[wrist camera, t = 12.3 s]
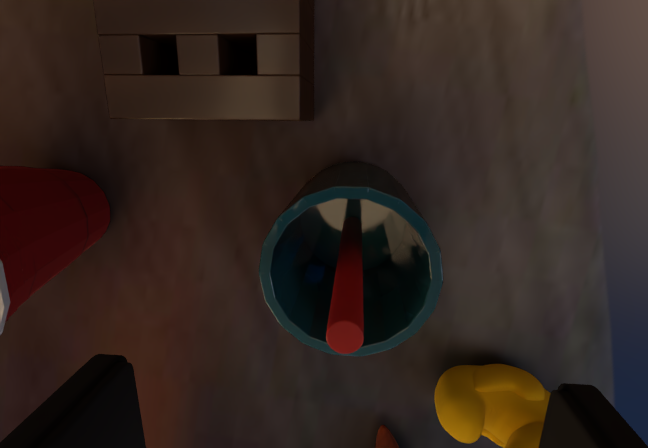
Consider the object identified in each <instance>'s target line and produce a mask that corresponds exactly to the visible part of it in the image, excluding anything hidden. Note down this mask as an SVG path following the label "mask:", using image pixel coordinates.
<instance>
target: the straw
mask: <svg viewBox="0 0 648 448" xmlns="http://www.w3.org/2000/svg"><path fill="white" fill-rule="evenodd" d="M326 340H327V343H328V345H329V346H330V347H331V348H332V349H333V350H334V351H336V352H338V353H342V354H349V353H353V352H355V351H357V350H358V349H359V348H360V347H361V346H362V344H363V341H364V314H363V264H362V224H361V221H360V220H359V219H358V218H356V217H349V218H347V219H346V220H345V221H344V223H343V228H342V235H341V241H340V247H339V254H338V260H337V267H336V273H335V279H334V286H333V292H332V298H331V305H330V311H329V318H328V324H327V330H326Z"/></svg>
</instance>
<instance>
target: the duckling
mask: <svg viewBox="0 0 648 448" xmlns="http://www.w3.org/2000/svg"><path fill="white" fill-rule="evenodd" d="M550 394H551V393H549V392H548V391H547V390H545V389H544V388H543V386H542V384H541V383H540V382H539V381H538V380H537V379H536V378H535V377H534V376H533V375H531V374H530V373H528V372H526V371H525V370H522V369H520V368H516V367H512V366H509V365H505V364H489V365H484V366H478V365H460V366H455V367H452V368H450V369H448V370H447V371H445V372H444V373H443V374H442V376H441V377H440V379H439V381H438V383H437V386H436V390H435V406H436V411H437V415H438V418H439V421H440V423H441V425H442V426H443V428H444V429H445V430H446V431H447V432H448V433H449V434H450V435H451V436H452V437H454V438H455V439H456V440H458V441H460V442H463V443H473V442H475V441H477V440H478V438H479V437H480V436H481V435H483V436H486V437H488V438H489V439H491V440H492V441H493V442H495V443H496V444H497V445H499V446H501V447H504V448H539V443H540V439H541V434H542V429H543V425H544V420H545V416H546V411H547V406H548V402H549V397H550Z"/></svg>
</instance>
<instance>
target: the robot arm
mask: <svg viewBox="0 0 648 448" xmlns="http://www.w3.org/2000/svg"><path fill="white" fill-rule="evenodd" d="M0 448H146V446H145V439H144V433H143V427H142V420H141V414H140V408H139V402H138V395H137V389H136V383H135V377H134V370H133V366H132V364H131V363H127V359H126V358H125V357H124V356H121V355H105V354H98V355H95V356H94V357H92V358H91V359H90V360H89V361H88V362H87V363H86V364H85V365H84V366H82V367H81V368H80V369H79V370H78V371H77V372H76V373H75V374H74V375H73V376H72V377H71V378H69V379H68V380H67V381H66V382H65V383H64V384H63V385H62V386H61V387H60V388H59V389H58V390H57V391H55V392H54V393H53V394H52V395H51V396H50V397H49V398H48V399H47V400H46V401H45V402H44V403H42V404H41V405H40V406H39V407H38V408H37V409H36V410H35V411H34V412H33V413H32V414H31V415H29V416H28V417H27V418H26V419H25V420H24V421H23V422H22V423H21V424H20V425H19V426H18V427H17V428H15V429H14V430H13V431H12V432H11V433H10V434H9V435H8V436H7V437H6V438H5V439H4V440H2V441H1V442H0ZM539 448H648V446H647V445H646V444H645V443H644V442H643V440H642V439H641V438H640V437H639V436H638V435H637V434H636V432H635V431H634V430H633V429H632V428H631V427H630V426H629V424H628V423H627V422H626V421H625V420H624V419H623V418H622V417H621V415H620V414H619V413H618V412H617V411H616V410H615V408H614V407H613V406H612V405H611V404H610V403H609V401H608V400H607V399H606V398H605V397H604V396H603V395H602V393H601V392H600V391H599V390H598V389H597V388H596V387H594V386H592V385H581V384H565V383H564V384H561V385H560V386H559V388H558V390H553V391H552V392H551V394H550V397H549V402H548V406H547V411H546V416H545V420H544V425H543V429H542V434H541V439H540V443H539Z"/></svg>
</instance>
